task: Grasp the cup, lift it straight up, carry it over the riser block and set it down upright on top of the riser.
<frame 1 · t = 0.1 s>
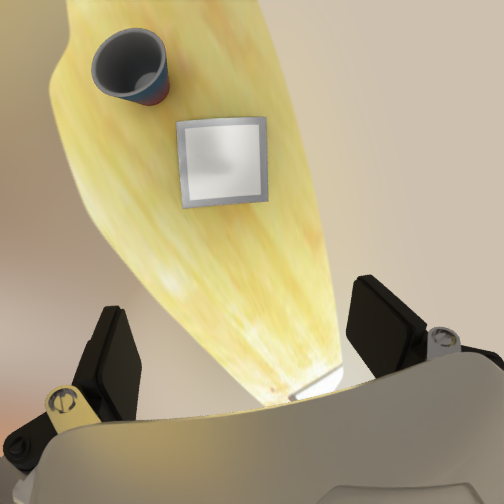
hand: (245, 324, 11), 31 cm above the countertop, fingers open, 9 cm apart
riser: (220, 159, 38), on the countertop
cup: (151, 88, 33), on the countertop
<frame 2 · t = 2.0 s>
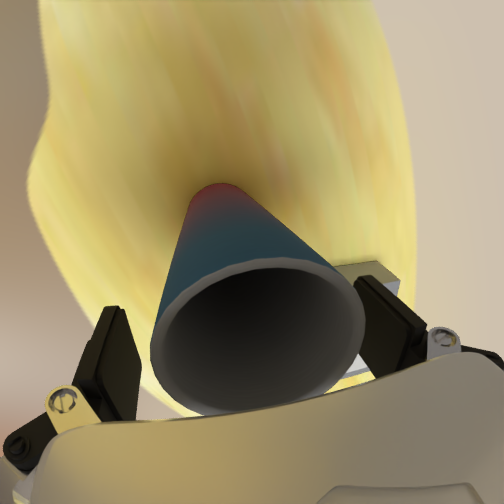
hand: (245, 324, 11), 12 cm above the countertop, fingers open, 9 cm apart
riser: (321, 317, 28), on the countertop
cup: (220, 215, 22), on the countertop
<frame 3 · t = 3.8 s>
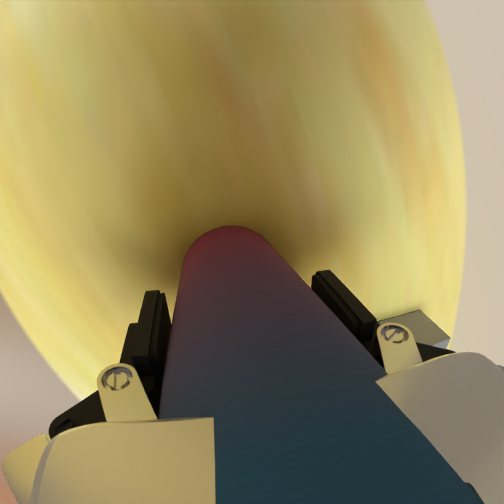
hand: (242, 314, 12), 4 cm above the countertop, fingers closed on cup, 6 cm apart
riser: (351, 377, 21), on the countertop
cup: (229, 269, 16), on the countertop, touching gripper
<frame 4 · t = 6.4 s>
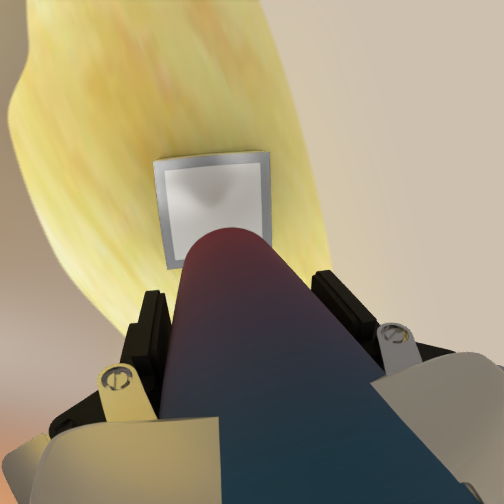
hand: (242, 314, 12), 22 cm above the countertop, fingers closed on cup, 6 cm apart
riser: (213, 203, 32), on the countertop
cup: (229, 270, 16), point 17 cm above the countertop, touching gripper
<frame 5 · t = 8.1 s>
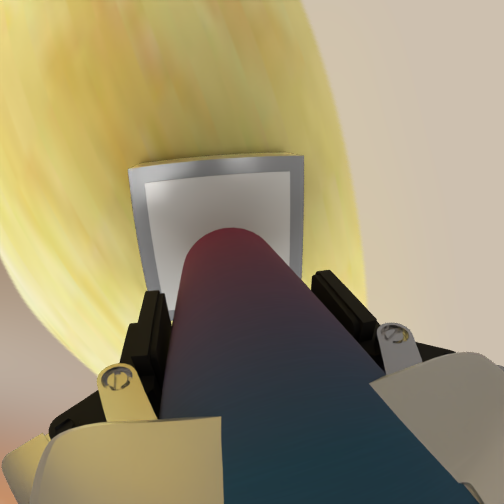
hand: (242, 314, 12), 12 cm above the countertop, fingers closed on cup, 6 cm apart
riser: (217, 226, 23), on the countertop
cup: (229, 270, 16), point 8 cm above the countertop, touching gripper
when the fingers open (9 cm above the countertop, at t = 9.5 s): cup drops 1 cm, resting on riser.
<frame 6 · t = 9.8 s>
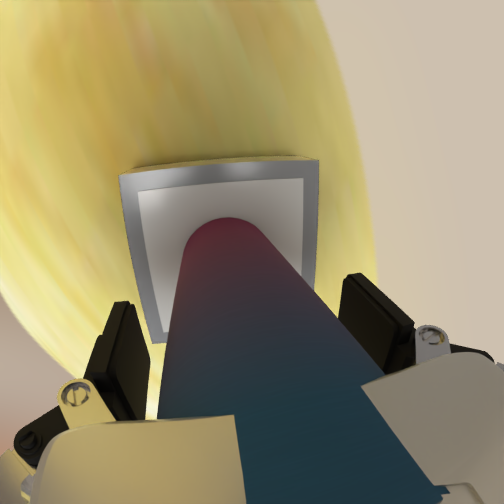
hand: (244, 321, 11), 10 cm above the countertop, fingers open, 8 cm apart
riser: (220, 237, 20), on the countertop
cup: (226, 258, 17), point 4 cm above the countertop, touching riser
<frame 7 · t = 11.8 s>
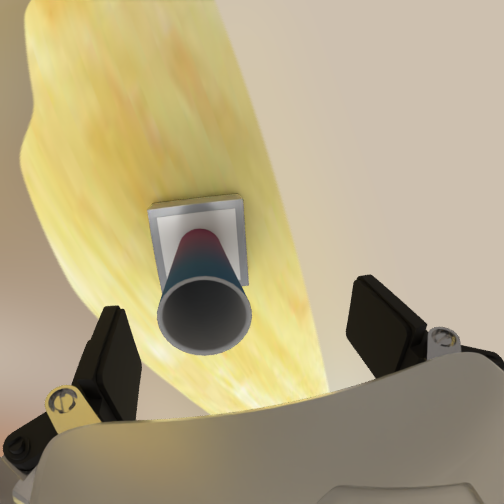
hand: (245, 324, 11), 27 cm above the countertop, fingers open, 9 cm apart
riser: (199, 239, 38), on the countertop
cup: (199, 248, 34), point 4 cm above the countertop, touching riser
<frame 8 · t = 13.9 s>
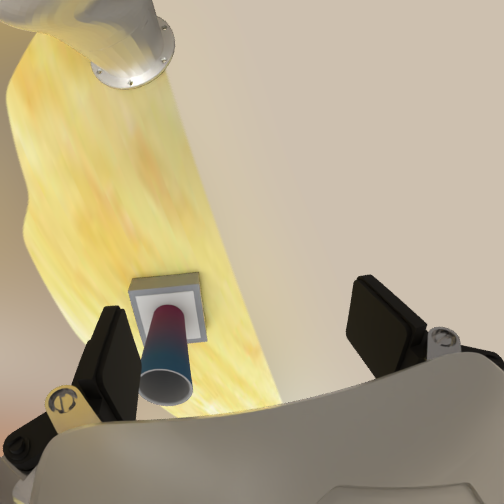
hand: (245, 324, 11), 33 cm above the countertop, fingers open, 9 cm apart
riser: (170, 304, 47), on the countertop
cup: (168, 317, 44), point 4 cm above the countertop, touching riser
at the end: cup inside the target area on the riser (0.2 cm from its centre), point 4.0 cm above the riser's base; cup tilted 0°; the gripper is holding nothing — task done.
